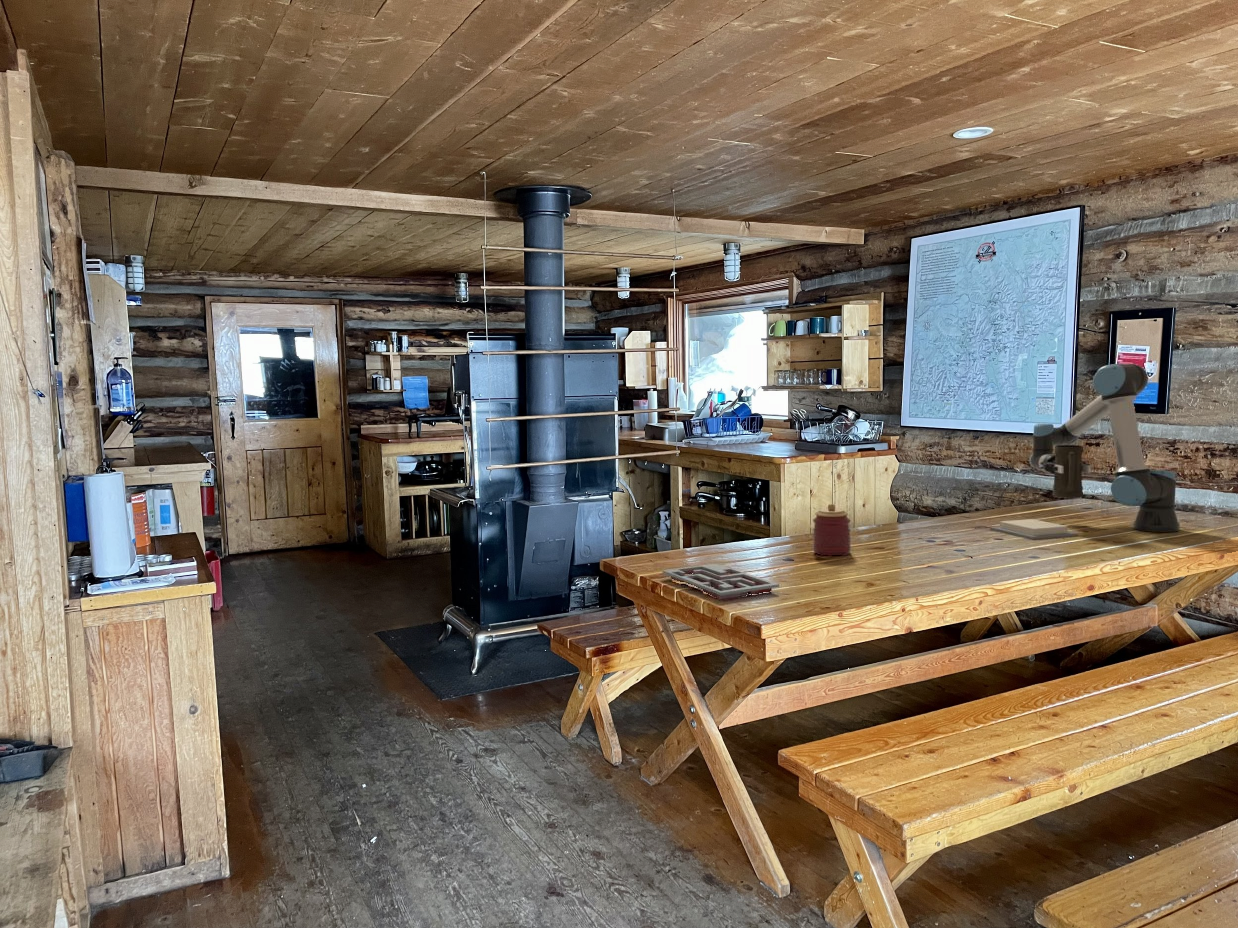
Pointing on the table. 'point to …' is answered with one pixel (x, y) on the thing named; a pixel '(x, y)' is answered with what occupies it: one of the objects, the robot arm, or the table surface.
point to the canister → (831, 532)
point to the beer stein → (1068, 471)
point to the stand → (1033, 529)
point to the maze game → (721, 581)
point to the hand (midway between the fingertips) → (1075, 469)
